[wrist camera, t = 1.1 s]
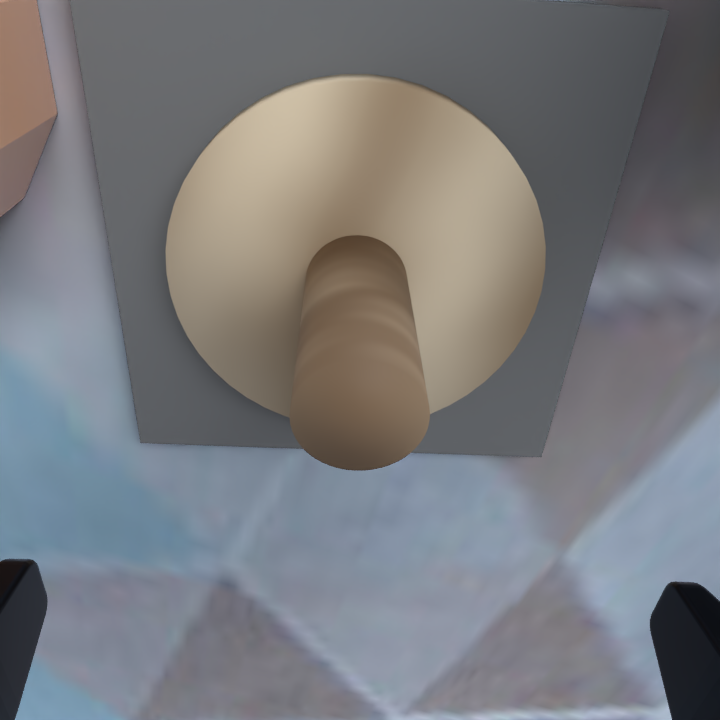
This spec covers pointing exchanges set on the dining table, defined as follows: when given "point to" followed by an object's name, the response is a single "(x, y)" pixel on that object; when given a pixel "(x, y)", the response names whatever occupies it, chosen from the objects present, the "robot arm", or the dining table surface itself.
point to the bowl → (22, 98)
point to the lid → (355, 260)
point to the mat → (378, 57)
